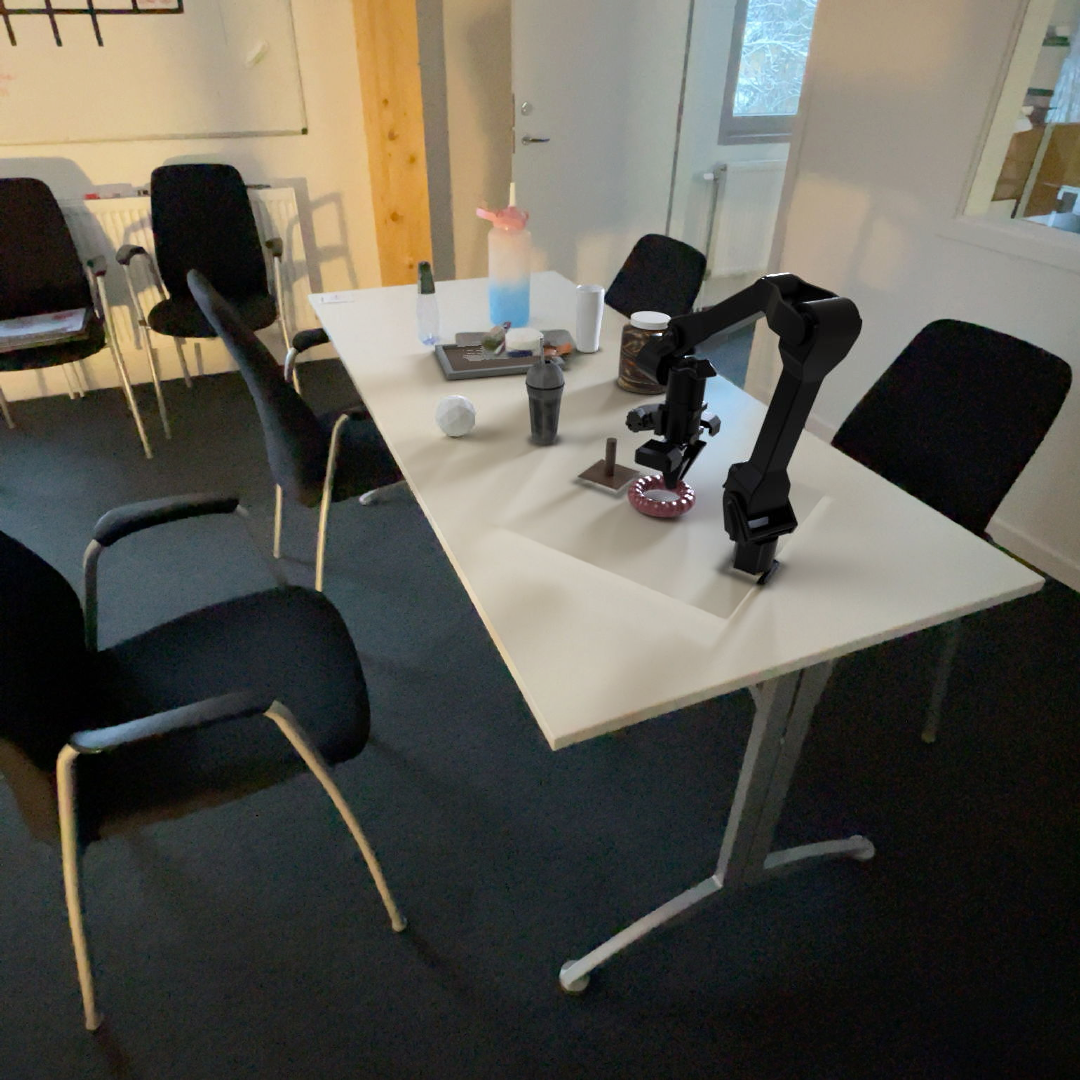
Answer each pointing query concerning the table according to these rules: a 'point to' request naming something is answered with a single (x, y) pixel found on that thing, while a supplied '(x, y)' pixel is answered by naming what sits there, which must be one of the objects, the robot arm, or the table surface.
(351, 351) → the table surface
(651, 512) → the ring
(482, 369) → the gray tray
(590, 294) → the drinking glass
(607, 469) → the stand
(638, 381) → the jar
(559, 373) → the beverage cup
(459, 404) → the geometric ball
